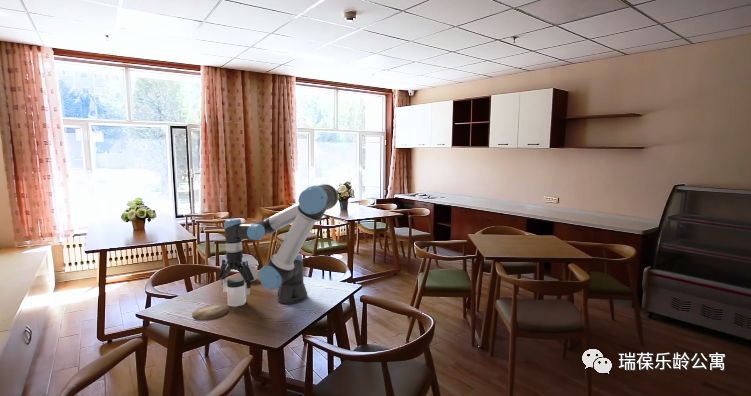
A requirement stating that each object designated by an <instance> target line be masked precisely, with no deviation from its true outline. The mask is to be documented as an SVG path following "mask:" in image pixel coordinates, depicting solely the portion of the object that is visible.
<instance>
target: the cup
mask: <svg viewBox="0 0 751 396" xmlns="http://www.w3.org/2000/svg"><path fill="white" fill-rule="evenodd" d="M248 266H249V268H250V271H251V273H252V275H253V277H254V280H252V281H251V282H255V281H256V280H257V279H258V266H257V265H252V264H251V265H248ZM239 275H240V276H239V277H242V275H241V274H240V273H239Z"/></svg>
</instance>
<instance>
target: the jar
mask: <svg viewBox="0 0 751 396" xmlns="http://www.w3.org/2000/svg"><path fill="white" fill-rule="evenodd" d="M244 282H246V281H245V280H244V278H243V277H241V276H238V277H231V278H229V279H228V280H227V292H226V295H227V297H226V298H227V307H240V306H244V305H246V302H247V296H245V284H244Z"/></svg>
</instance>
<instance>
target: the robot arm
mask: <svg viewBox="0 0 751 396" xmlns="http://www.w3.org/2000/svg"><path fill="white" fill-rule="evenodd" d="M297 200H298V202H297V203H295V204H293V205H291V206H289V207H287V208H285V209H283V210H281V211H279V212H277V213H275V214H274V215H272V216H271V215H270V216H269V217H267V218H265V219H262V220H258V221H256V222H252V223H242V220H241V218H227V219H225V221H224V237H225V259H222V260H221V265H220V269H219V272H218V273H217V278H219V279H220V280H221V285H222V292H223V293H227V280H229V279H228V275H229V274H230V272H231V271H232V270H234V271H237V272H238V273H239V275H240V274H241V275H242V276H241V278H244V280H245V282H244V284H245V296H246V297H247V296H248V295H251V288H252V286H251V285H252V284H251V282H253V281H252V280H254V277H253V275H252V273H251V271H250V268H249V266H250V265H249V261H248V260H245V261H243V258H244V256H243V253H244V251H243V240H247V241H248V240H249V241H261V240H262V239H263V238H264V237H265V236H267V235H271V234H274V233H275V232H276V231H279V230H280V229H282V228H284V227H286V226H288V225H290V224H291V226H290V228H289V230H288V232H287V234H286V235H285V238H283V241H282V242H281V245H280V247H279V248H278V251H277V252H276V253H274V254H272V255H271V256H270V258H269V260H268V261H267V264H266V265H263V266H262V267H261V268H260V269H259V271H258V272H259V273H258V278H259V280H260V283H261V285H262V286H263V287H264V288H266V289H267V290H271V291H272V290H276V289H278V290H277V294H276V301H277V302H278V303H280V304H285V305H286V304H288V305H289V304H292V305H293V304H298V303H302V302H304V301H306V300H307V299H308V291H307V289H306V288H307V287H306V286H305V284H304V283H305V282H304V263H303V262H304V261H303V255H302V254H300V251H301V249H302V248H303V245H304V244H305V241H306V240H307V238H308V236H309V234H310V233H311V231H312V229H313V227H314V226H315V224H316V222H319V221H321V220H322V218H323V216H324V215H325V213H326V211H327V210H331V209H332V208H333V207H335V206H336V204H337V203H338V200H339V194H338V191H337V190H336V188H335V187H334V186H332V185H330V184H320V185H311V186H308V187H306V188H304V189H303V190H302V191H301V192H300V193H299V196H298V199H297Z"/></svg>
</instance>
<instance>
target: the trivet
mask: <svg viewBox="0 0 751 396" xmlns="http://www.w3.org/2000/svg"><path fill="white" fill-rule="evenodd" d="M228 307H229V306H228V305H227V306H226V305H222V304H211V305H206V306H201V307H199V308H197V309H195V310H194V311H192V318H193V319H195V320H198V321H209V320H214V319H218V318H221V317H223V316H225V315H226V314H228V312H229V308H228Z"/></svg>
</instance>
